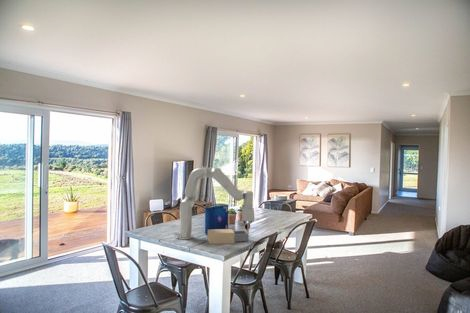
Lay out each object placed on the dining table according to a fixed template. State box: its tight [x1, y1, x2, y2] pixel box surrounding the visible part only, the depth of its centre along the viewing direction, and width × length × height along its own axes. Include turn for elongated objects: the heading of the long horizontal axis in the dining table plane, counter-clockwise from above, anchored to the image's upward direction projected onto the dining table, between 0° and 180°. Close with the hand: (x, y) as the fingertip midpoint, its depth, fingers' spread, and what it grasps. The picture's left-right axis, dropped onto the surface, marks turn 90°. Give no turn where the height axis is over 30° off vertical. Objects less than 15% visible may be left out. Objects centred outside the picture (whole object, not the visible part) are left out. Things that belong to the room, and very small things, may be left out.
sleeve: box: [207, 228, 235, 245], centre depth 250 cm, size 20×12×8 cm, turn 103°
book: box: [204, 203, 229, 236], centre depth 273 cm, size 22×7×25 cm, turn 126°
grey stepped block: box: [233, 222, 250, 242], centre depth 253 cm, size 20×10×13 cm, turn 103°
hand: (247, 229), depth 255 cm, fingers closed
